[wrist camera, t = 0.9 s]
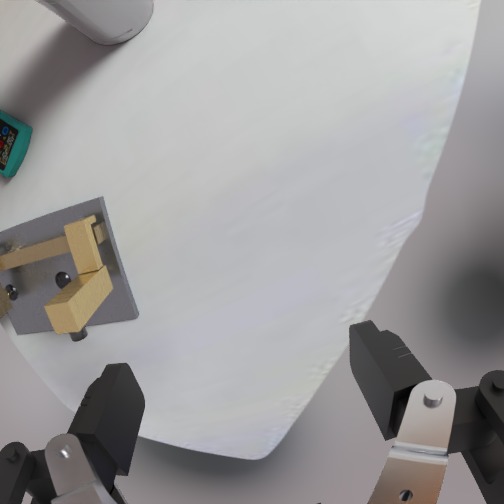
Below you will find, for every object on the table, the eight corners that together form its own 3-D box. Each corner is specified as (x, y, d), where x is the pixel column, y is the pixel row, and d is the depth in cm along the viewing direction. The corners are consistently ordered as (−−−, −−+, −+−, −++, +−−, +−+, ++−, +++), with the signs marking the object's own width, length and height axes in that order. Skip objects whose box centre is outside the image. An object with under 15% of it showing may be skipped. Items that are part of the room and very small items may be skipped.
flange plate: (-15, 237, 35) (-20, 240, 34) (103, 196, 35) (98, 197, 34) (20, 330, 40) (17, 334, 39) (139, 314, 40) (136, 318, 39)
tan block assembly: (-15, 248, 34) (-68, 278, 23) (98, 210, 34) (45, 237, 23) (8, 311, 38) (-36, 352, 26) (123, 290, 38) (85, 343, 26)
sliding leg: (77, 219, 34) (22, 247, 23) (97, 213, 34) (45, 240, 23) (102, 296, 37) (62, 346, 26) (122, 292, 37) (85, 343, 26)
